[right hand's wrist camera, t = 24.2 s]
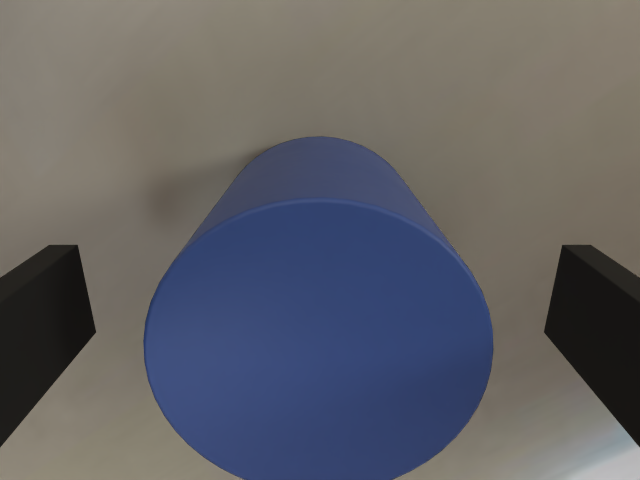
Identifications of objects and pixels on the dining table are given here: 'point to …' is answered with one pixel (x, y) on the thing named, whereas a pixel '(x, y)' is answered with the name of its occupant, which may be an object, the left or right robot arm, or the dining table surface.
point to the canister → (318, 323)
